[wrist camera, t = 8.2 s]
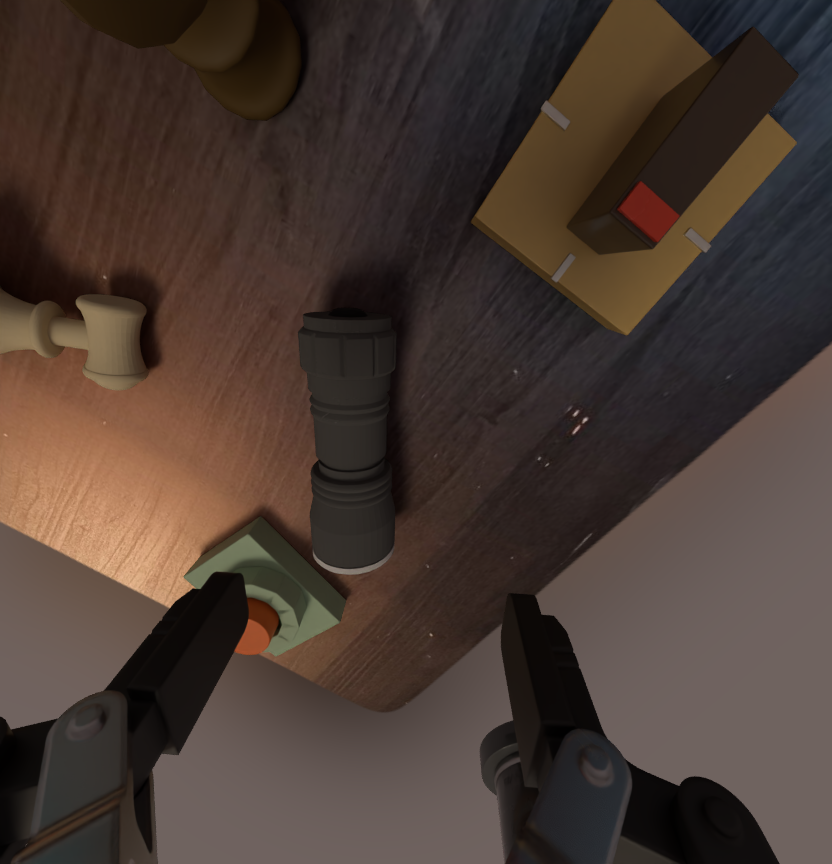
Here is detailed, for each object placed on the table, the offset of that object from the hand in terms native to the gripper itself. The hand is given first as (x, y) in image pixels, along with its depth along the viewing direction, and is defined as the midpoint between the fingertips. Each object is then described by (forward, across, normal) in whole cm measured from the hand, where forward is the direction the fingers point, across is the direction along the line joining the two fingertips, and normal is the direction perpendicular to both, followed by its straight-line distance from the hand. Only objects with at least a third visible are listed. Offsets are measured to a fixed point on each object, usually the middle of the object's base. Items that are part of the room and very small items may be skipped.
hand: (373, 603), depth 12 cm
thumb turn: (+12, -10, -14) cm, 21 cm away
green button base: (+15, +10, +14) cm, 23 cm away
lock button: (+11, +10, +14) cm, 21 cm away
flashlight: (+15, +3, +1) cm, 15 cm away
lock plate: (+15, -10, -14) cm, 22 cm away
